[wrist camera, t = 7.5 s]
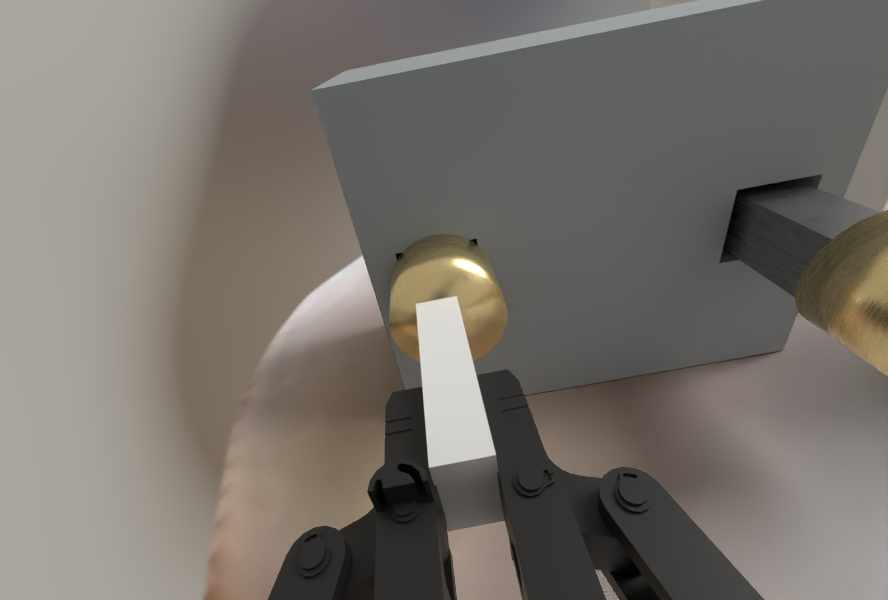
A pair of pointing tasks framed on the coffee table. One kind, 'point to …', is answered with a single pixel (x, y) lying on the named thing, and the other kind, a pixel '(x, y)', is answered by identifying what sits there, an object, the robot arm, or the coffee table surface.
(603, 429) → the coffee table surface
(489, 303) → the knob
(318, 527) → the robot arm
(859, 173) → the rounded white slab
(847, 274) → the knob
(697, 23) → the knob housing
